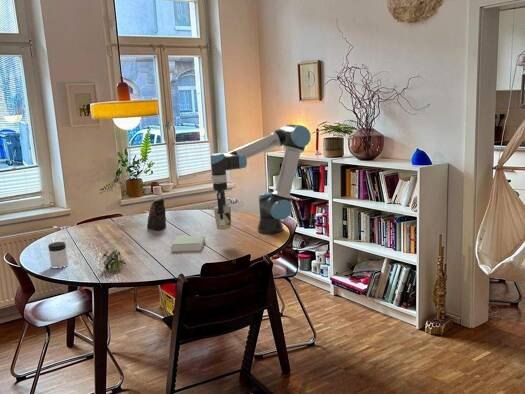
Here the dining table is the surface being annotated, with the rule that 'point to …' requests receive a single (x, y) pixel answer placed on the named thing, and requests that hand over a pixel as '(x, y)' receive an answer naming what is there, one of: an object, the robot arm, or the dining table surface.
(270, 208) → the robot arm
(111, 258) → the small green plant
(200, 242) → the plinth
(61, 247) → the jar
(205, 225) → the dining table surface
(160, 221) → the owl
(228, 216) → the coffee cup
